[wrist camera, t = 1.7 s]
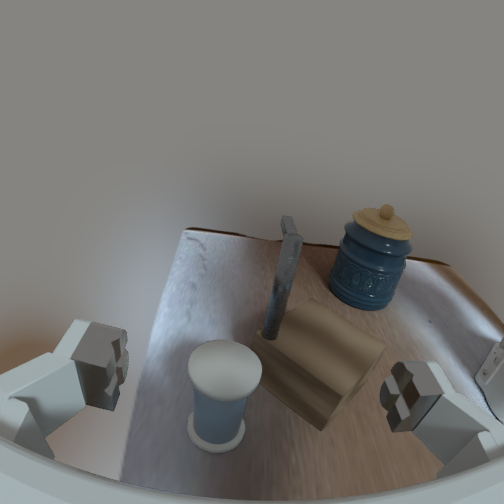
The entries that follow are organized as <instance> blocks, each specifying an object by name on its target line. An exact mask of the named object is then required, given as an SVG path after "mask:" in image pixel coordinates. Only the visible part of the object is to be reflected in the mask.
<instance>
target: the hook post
mask: <svg viewBox="0 0 504 504" xmlns="http://www.w3.org/2000/svg"><path fill="white" fill-rule="evenodd" d="M281 228H282V232H283V236H284V238H283V242H282V247H281V251H280V256H279V260H278V265H277V269H276V274H275V278H274V282H273V287H272V291H271V295H270V300H269V304H268V308H267V313H266V317H265V321H264V325H263V329H262V337H263V338H264V339H266V340H270V341H272V340H275V339H277V337H278V333H279V330H280V326H281V323H282V319H283V316H284V312H285V308H286V305H287V301H288V297H289V293H290V290H291V286H292V282H293V278H294V275H295V271H296V267H297V263H298V259H299V255H300V251H301V247H302V243H303V238H302V237H301V236H300V235H298V234H297V231H296V228H295V225H294V222H293V220H292V217H288V216H282V220H281Z"/></svg>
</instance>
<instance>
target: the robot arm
mask: <svg viewBox="0 0 504 504" xmlns="http://www.w3.org/2000/svg"><path fill="white" fill-rule="evenodd" d="M126 343H127V332H126V330H124V329H120V328H116V327H112V326H108V325H104V324H100V323H96V322H90V321H87V320H84V319H80V318H77V319H75V320H74V321H73V322H72V324H71V325H70V327H69V329H68V330H67V331H66V333H65V335H64V336H63V338H62V339H61V341H60V342H59V344H58V345H57V347H56V349H55V350H54V352H53V353H49V352H48V353H46V354H43V355H41V356H39V357H37V358H35V359H33V360H31V361H29V362H27V363H25V364H22V365H20V366H18V367H16V368H14V369H12V370H10V371H8V372H6V373H4V374H2V375H0V504H504V425H503V424H504V337H503V339H502V340H501V342H496V343H495V344H494V346H493V347H492V349H491V351H490V352H489V354H488V356H487V358H486V359H485V361H484V363H483V364H482V366H481V368H480V369H479V371H478V372H477V374H476V376H475V380H476V382H477V383H478V385H479V386H480V387H481V389H482V390H483V392H484V394H485V396H486V399H487V402H488V404H489V406H490V408H491V409H492V411H493V413H494V414H495V415H496V416H497V418H498V419H499V420H500V421H501V422H502V423H503V424H502V423H501V422H499V421H498V420H496V419H495V418H494V417H492V416H491V415H489V414H488V413H487V412H485V411H484V410H482V409H481V408H480V407H478V406H477V405H475V404H474V403H473V402H471V401H470V400H468V399H467V398H465V397H464V396H463V395H461V394H460V393H456V392H455V391H454V389H453V387H452V386H451V384H450V382H449V381H448V379H447V377H446V376H445V374H444V372H443V371H442V369H441V368H440V366H439V364H438V363H437V362H435V361H398V362H397V363H396V364H394V366H393V367H392V369H391V374H392V375H391V376H390V377H388V378H387V379H385V381H384V382H383V384H382V386H381V389H380V394H379V396H380V402H381V405H382V407H383V408H384V409H385V410H387V411H388V414H387V416H386V418H387V421H388V423H389V426H390V429H391V431H392V433H394V432H406V431H413V433H414V434H415V435H416V436H417V437H418V438H419V439H420V440H421V442H422V443H423V444H424V445H425V446H426V447H427V448H428V449H429V450H430V451H431V452H432V453H433V454H434V455H435V456H436V457H437V458H438V459H439V460H440V461H441V462H442V463H443V464H444V465H445V466H444V467H443V468H442V469H441V470H440V471H439V472H438V473H437V475H436V478H437V479H436V480H432V481H428V482H424V483H420V484H416V485H412V486H408V487H403V488H398V489H393V490H388V491H383V492H377V493H371V494H364V495H357V496H349V497H340V498H330V499H317V500H297V501H254V500H234V499H221V498H211V497H202V496H194V495H186V494H180V493H173V492H167V491H162V490H157V489H152V488H147V487H142V486H138V485H133V484H129V483H125V482H121V481H117V480H113V479H109V478H106V477H103V476H99V475H96V474H93V473H90V472H86V471H83V470H80V469H77V468H74V467H71V466H69V465H66V464H63V463H60V462H58V461H55V460H54V457H55V456H54V454H53V452H52V450H51V448H50V447H49V445H48V443H47V442H46V440H45V437H46V436H48V435H49V434H50V433H52V432H53V431H54V430H56V429H57V428H58V427H60V426H61V425H62V424H64V423H65V422H66V421H68V420H69V419H70V418H71V417H73V416H74V415H75V414H76V413H78V412H79V411H80V410H82V409H83V408H84V407H86V405H90V406H94V407H97V408H102V409H106V410H110V411H114V409H115V406H116V404H117V401H118V398H119V395H120V391H119V385H121V384H123V383H124V381H125V378H126V375H127V369H128V360H129V358H128V351H127V350H126V349H125V346H126Z"/></svg>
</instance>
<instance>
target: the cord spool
mask: <svg viewBox="0 0 504 504" xmlns="http://www.w3.org/2000/svg"><path fill="white" fill-rule="evenodd" d="M261 374H262V365H261V362H260V360H259V358H258V356H257V355H256V354H255V353H254V352H253V351H252V350H251V349H249V348H248V347H246V346H245V345H242V344H240V343H237V342H234V341H229V340H213V341H209V342H206V343H203V344H201V345H200V346H198V347H197V348H196V349H195V350H194V351H193V352H192V353H191V355H190V357H189V361H188V376H189V380H190V382H191V384H192V385H193V387H194V410H193V411H192V412H191V414H190V415H189V418H188V421H187V431H188V435H189V438H190V439H191V441H192V442H193V443H194V444H195V445H196V446H197V447H198V448H200V449H202V450H204V451H207V452H210V453H225V452H228V451H231V450H233V449H234V448H236V447H237V446H238V445H239V444H240V442H241V441H242V439H243V436H244V432H245V423H244V420H243V418H242V417H243V414H244V410H245V406H246V402H247V398H248V396H249V395H251V394H252V393H253V392H254V391H255V390H256V388H257V387H258V384H259V382H260V378H261Z"/></svg>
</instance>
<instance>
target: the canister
mask: <svg viewBox="0 0 504 504" xmlns="http://www.w3.org/2000/svg"><path fill="white" fill-rule="evenodd" d="M353 219H354V220H351V221H348V222H347V223H346V224H345V226H344V227H345V231H346V234H345V236H344V238H342V239H341V241H340V247H339V250H338V253H337V256H336V260H335V263H334V266H333V268H332V269H331V273H330V277H329V278H330V280H329V286H330V289H331V290H332V292H333V293H334V294H335V295H336V296H337V297H338V298H339V299H340V300H342V301H343V302H345V303H347V304H349V305H351V306H353V307H356V308H359V309H363V310H380V309H383V308H385V307H386V306H387V305H388V303H389V302H390V301H391V300H392V298H393V295H394V293H395V289H396V286H397V284H398V282H399V279H400V277H401V275H402V272H403V270H404V269H405V267H406V261H405V260H406V257H407V255H408V254H410V253H411V252H412V249H413V248H412V244H411V243H410V241H409V239H411V238H412V236H413V234H412V232H411V230H410V229H409V227H408V225H407V224H406V222H405V221H404V220H402V219H401V218H399V217H398V216H396V215H394V208H393V207H392V206H391V205H387V204H385V205H383V206H382V207H381V209H375V208H365V209H363V210H359V211H356V212H354V213H353Z"/></svg>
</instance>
